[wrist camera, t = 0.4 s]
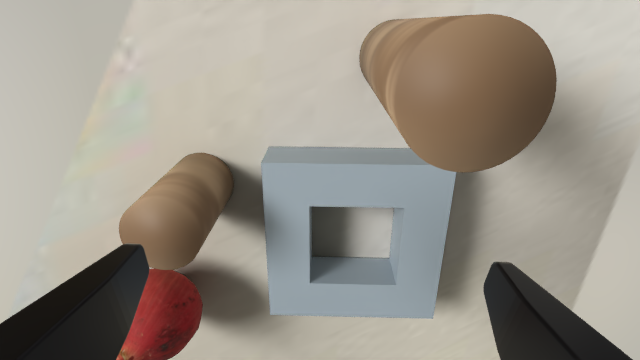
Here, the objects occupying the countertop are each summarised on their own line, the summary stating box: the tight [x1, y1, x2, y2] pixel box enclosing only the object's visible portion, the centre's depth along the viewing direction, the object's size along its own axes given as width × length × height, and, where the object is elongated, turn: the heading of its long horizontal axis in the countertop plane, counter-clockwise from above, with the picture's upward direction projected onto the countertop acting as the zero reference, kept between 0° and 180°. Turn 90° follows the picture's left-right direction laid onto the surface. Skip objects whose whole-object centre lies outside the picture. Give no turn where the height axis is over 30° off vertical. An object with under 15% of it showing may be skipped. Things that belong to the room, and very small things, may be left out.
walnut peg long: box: [360, 14, 556, 172], centre depth 15 cm, size 4×4×13 cm
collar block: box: [261, 147, 456, 319], centre depth 24 cm, size 11×11×3 cm
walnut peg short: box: [119, 153, 234, 270], centre depth 22 cm, size 4×4×7 cm
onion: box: [116, 268, 203, 360], centre depth 24 cm, size 6×6×8 cm
